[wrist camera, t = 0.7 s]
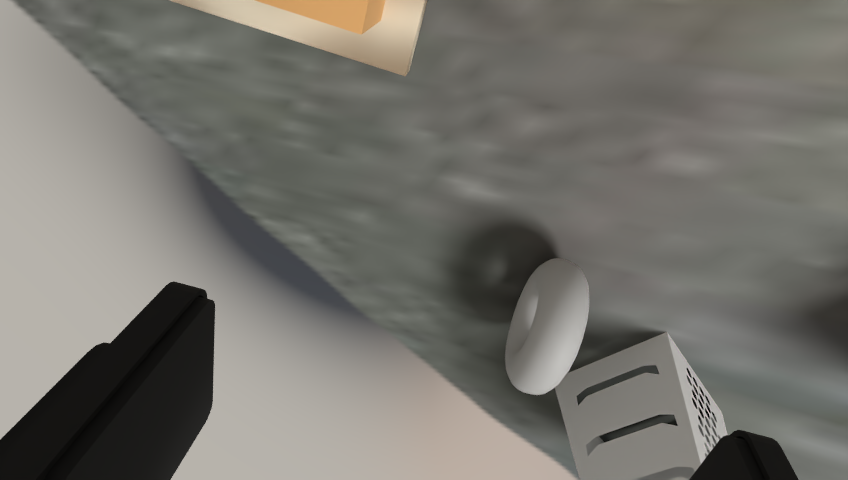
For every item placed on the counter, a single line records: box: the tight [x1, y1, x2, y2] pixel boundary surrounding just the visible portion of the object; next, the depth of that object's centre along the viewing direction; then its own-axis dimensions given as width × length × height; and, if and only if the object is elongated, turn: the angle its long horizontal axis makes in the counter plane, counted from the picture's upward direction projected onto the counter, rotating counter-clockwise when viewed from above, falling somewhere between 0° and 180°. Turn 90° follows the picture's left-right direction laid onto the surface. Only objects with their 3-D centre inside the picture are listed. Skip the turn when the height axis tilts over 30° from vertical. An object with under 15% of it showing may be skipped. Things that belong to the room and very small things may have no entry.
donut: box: [505, 258, 589, 395], centre depth 39 cm, size 10×4×10 cm, turn 164°
